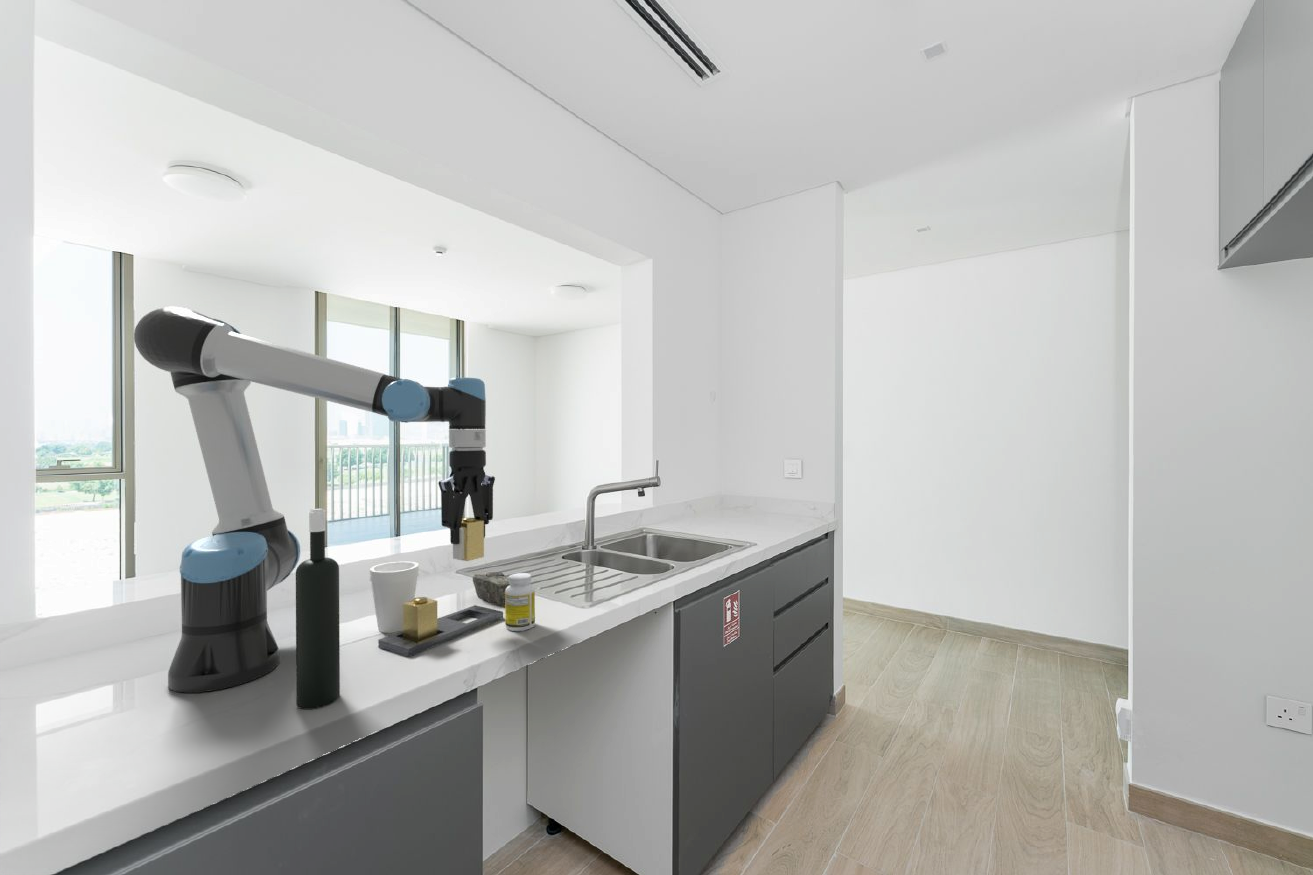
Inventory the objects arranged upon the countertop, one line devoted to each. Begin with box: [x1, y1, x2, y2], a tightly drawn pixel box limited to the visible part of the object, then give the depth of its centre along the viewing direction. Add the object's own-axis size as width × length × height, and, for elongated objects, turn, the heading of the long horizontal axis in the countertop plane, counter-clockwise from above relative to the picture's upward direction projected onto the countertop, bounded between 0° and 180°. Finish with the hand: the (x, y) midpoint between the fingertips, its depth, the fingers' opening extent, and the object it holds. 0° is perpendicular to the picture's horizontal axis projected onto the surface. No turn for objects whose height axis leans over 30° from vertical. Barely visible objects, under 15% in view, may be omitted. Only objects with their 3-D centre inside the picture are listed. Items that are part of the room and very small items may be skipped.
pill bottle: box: [504, 572, 536, 632], centre depth 117 cm, size 6×6×11 cm
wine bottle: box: [295, 507, 341, 710], centre depth 85 cm, size 6×6×30 cm
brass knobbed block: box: [452, 517, 485, 562], centre depth 119 cm, size 4×4×9 cm
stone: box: [472, 571, 510, 607], centre depth 136 cm, size 14×7×10 cm, turn 57°
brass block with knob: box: [402, 596, 438, 643], centre depth 109 cm, size 4×4×9 cm
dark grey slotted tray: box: [377, 605, 504, 658], centre depth 114 cm, size 24×9×2 cm, turn 150°
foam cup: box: [369, 560, 420, 634], centre depth 117 cm, size 10×9×13 cm
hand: (468, 555), depth 119 cm, fingers closed on brass knobbed block, 4 cm apart
